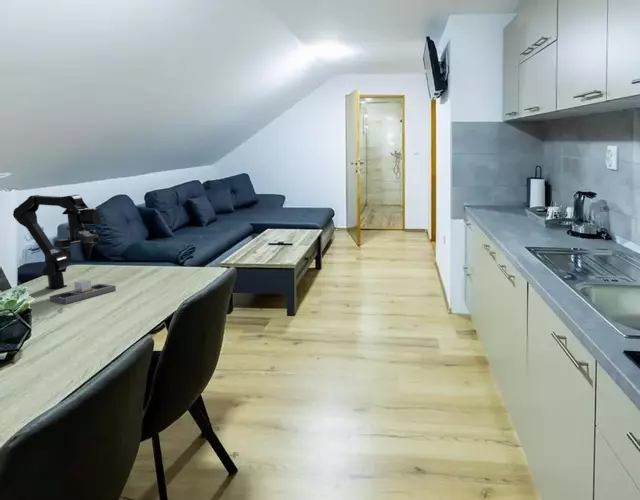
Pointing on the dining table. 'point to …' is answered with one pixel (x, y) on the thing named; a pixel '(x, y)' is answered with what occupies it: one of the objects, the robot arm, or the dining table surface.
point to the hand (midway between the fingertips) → (79, 260)
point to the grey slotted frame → (82, 294)
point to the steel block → (82, 286)
